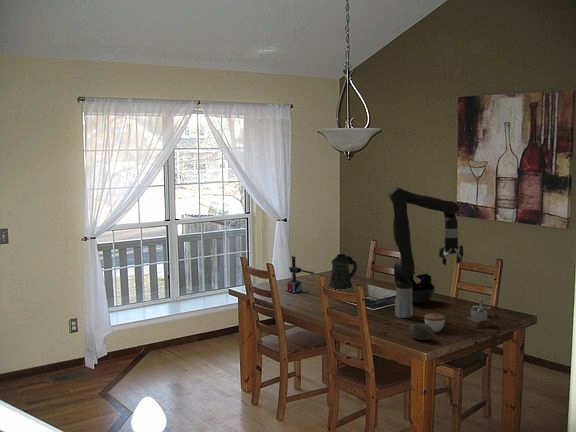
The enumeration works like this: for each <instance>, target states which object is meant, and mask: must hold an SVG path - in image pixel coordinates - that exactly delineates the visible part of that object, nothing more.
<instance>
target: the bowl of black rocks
mask: <svg viewBox="0 0 576 432" xmlns="http://www.w3.org/2000/svg"><path fill="white" fill-rule="evenodd" d="M415 274H416V271H415V270H414V273H413V275H412V276H410V277H408V278H409V280H410V281H411V282H412V304H413V303H414V304H424V303H426V302H428V301H429V300H431V299H432V297H433V296H434V293H435V290H436V287H435V285H434V284H433V283H432V275H430V274H429V273H422V274H418V275H415ZM414 275H415V277H416V278H417V279H420V281H419V282H417V281H415V280H414ZM416 282H417V283H416Z"/></svg>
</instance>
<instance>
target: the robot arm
mask: <svg viewBox="0 0 576 432" xmlns="http://www.w3.org/2000/svg"><path fill="white" fill-rule="evenodd" d="M388 198H389V200H390V201H391V202H392V207H393V215H394V217H393V224H392V226H393V227H392V232H393V240H394V243H395V244H396V247H397V249H398V250H399V253H400V259H397V260H396V261H395V263H394V265H393V275H394V283H395V293H396V294H395V295H396V299H394V315H395V316H396V317H397V318H399V319H409V318H413V313H414V312H413V302H412V282H411V281H410V280H409V278H408V277H410V276H412V275H413V273H414V271H415V269H416V268H415V262H414V256H413V252H412V242H411V231H410V229H411V227H410V222H409V217H408V204H409V205H414V206H417V207H420V208H424V209H428V210H433V211H439V212H441V213H443V216H444V246H439V253H438V255H439V256H438V257H439V258H442V260H441V261H442V264H443V265H444V266H446V265H447V257H448V256H449V255H453V254H455V255H456V259H455V260H456V264H460V263H461V257H463V256H464V245H462V244H459V231H458V230H459V229H458V227H459V226H458V225H459V224H458V219H457V213H458V212H459V209H460V206H459V204H458V203H457V202H455V201H452V200H443V199H441V198H438V197H433V196H429V195H423V194H419V193H415V192H414V193H413V192H411V191H408V190H405V189H403V188H401V187H398V186H397V187H394V188H391V189H390V191H389V193H388Z"/></svg>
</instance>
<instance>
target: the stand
mask: <svg viewBox="0 0 576 432" xmlns="http://www.w3.org/2000/svg"><path fill="white" fill-rule="evenodd" d="M463 323H464V324H465V325H468V326H470V327H472V328H474V329H481V328H482V329H483V328H490V327H495V326H494V324H493V320H492V319H490V318H488V317H487V321H480V322H479V321H477V320H475V319H472V318H471V316H468V317H465V321H464V322H463Z"/></svg>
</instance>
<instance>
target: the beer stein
mask: <svg viewBox="0 0 576 432" xmlns="http://www.w3.org/2000/svg"><path fill="white" fill-rule="evenodd" d="M331 265H332V268H331V274H330V279H329V283H328V288H329V287H331V288H335V290H336V289H347V288H351V287H352V286H353V284H352V280H351V279H352V278H353V277H354V276H355V274H356V273H357V271H358V264H357V261H355V260H353V257H351V256H349V255H348V256H347V255H346V254H343V253H338V254H337V255H336V257H334V258H333V259H332V260H331ZM349 265H352V266H353V268H352V271H351V272H350V268H349ZM352 288H353V287H352ZM339 291H340V290H339Z"/></svg>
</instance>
